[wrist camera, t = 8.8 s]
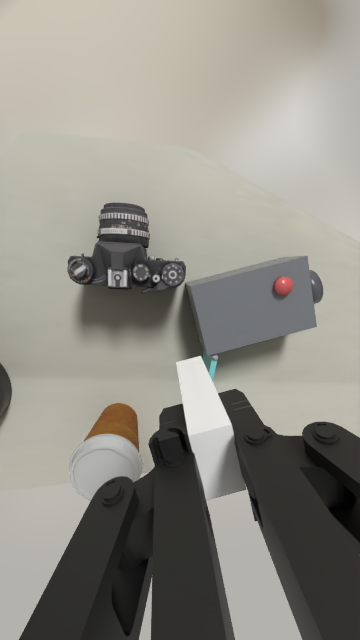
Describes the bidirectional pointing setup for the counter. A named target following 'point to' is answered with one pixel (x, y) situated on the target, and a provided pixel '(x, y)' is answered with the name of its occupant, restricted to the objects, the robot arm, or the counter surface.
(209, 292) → the grey boxy piece
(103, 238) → the camera
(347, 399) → the counter surface
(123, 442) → the disposable coffee cup
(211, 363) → the door
